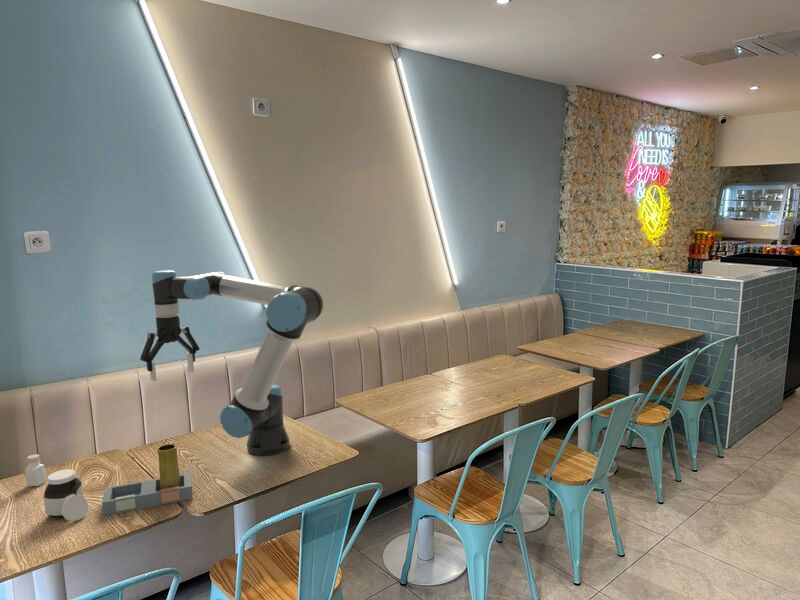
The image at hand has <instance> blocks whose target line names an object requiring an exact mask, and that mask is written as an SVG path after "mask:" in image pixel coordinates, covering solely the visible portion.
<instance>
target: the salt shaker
mask: <svg viewBox="0 0 800 600" xmlns="http://www.w3.org/2000/svg"><path fill="white" fill-rule="evenodd" d="M40 461H41V459H40V455H39V453H38V454H35V453H34V454H31V455H28V456H27V464H28V466H27V467H25V468H24V469H25V470H24V471H25V477H26V478H25V479H26V486H27V487H30V486H38V487H40V486H41V484H42V485H43V484H45V483H46V482H47V478H46V477H47V476H46V471H45V464H43V463H40ZM39 485H40V486H39Z"/></svg>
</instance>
